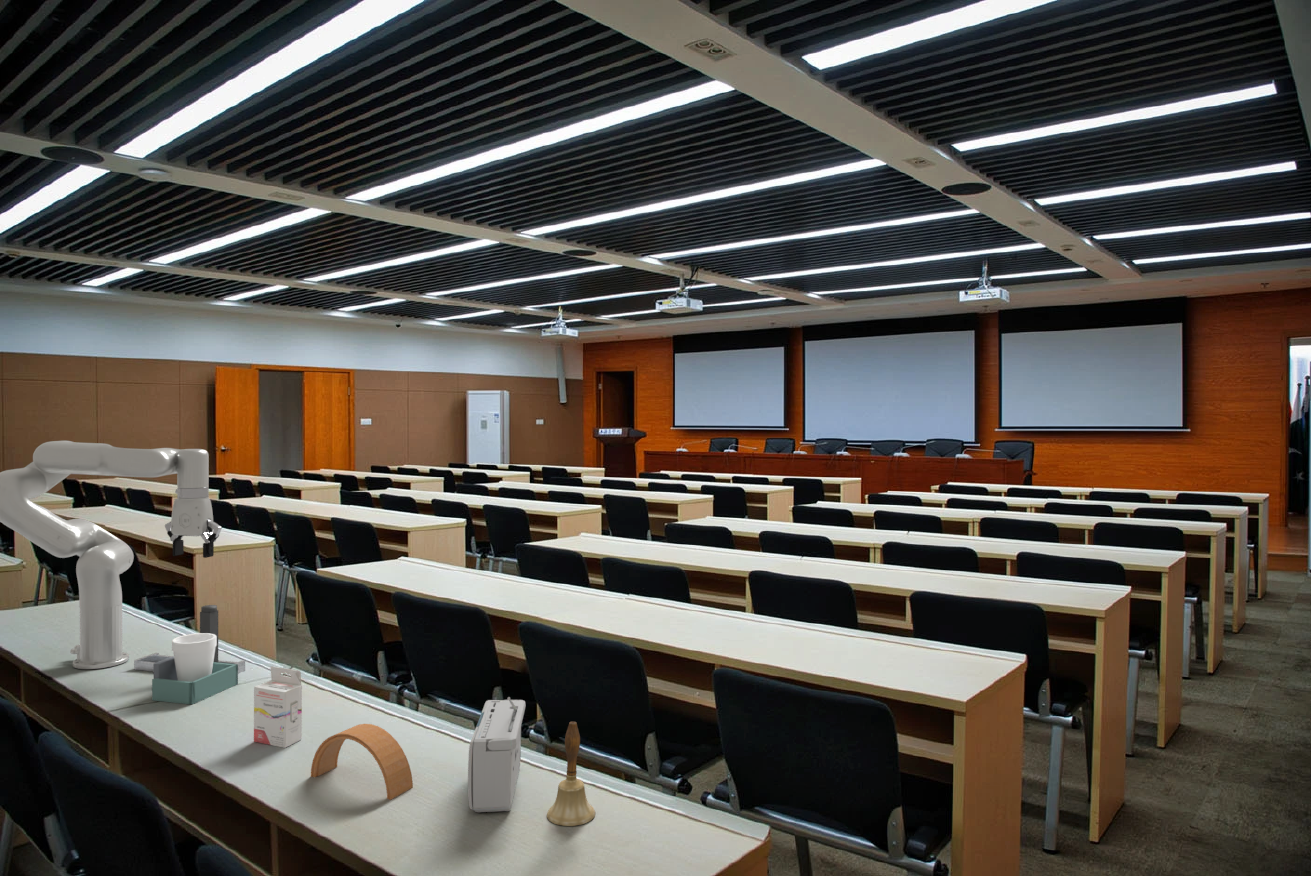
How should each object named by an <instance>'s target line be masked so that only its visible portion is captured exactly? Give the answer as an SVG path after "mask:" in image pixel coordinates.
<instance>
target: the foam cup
mask: <svg viewBox="0 0 1311 876" xmlns="http://www.w3.org/2000/svg"><path fill="white" fill-rule="evenodd" d="M216 646H217V636H216V635H215V634H210V633H200V632H197V633H188V634H184V635H179V636H177V637H174V638H173V639H171V651H172V654H173V656H174V660H175V667H176V673H177V680H178V681H188V682H193V681H195V680H198V679H200V678H202V677H205V676H207V675H210V674H212V668H213V661H214V654H215V647H216Z"/></svg>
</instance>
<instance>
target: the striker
mask: <svg viewBox="0 0 1311 876" xmlns="http://www.w3.org/2000/svg"><path fill="white" fill-rule="evenodd" d="M200 607H201V609H200V611H199V633H210V634H215V635H216V636H217V646H216V647H215V654H214V661H213V662H217V663H218V660H219V609H218V605H215V604H207V605H202V606H200ZM172 656H173V657H171V658H168V659H165V660H162V661H159V662H157V663H154V671H153V679H154V678H158V679H168V680H177V673H176V667H175V660H174V655H172Z"/></svg>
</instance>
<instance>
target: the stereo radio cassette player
mask: <svg viewBox="0 0 1311 876" xmlns="http://www.w3.org/2000/svg"><path fill="white" fill-rule="evenodd" d="M525 710H526V701H525V700H523V699H511V697H510V696H508V697H507V699H503V700H501V699H500V700H499V699H487V700H486V701H485V703H484V705H483V708H482V710H481V713H480V716H479V719H478V721H477V724H476V726H475V729H474V732H473V734H472V736H471V740H470V743H469V748H468V763H467V765H468V766H467V790H468V791H467V792H468V793H467V794H468V805H469V808H470V810H472V811H474V812H475V813H478V814H479V813H486V812H487V813H491V812H492V813H493V812H495V813H496V812H509V811H511V809H512V806H513V800H514V795H515V791H516V786H517V783H518V782H517V781H518V777H519V772H520V767H521V757H522V756H521V755H522V752H521V751H522V747H521V745H522V741H521V740H522V723H523V719H524V715H525Z"/></svg>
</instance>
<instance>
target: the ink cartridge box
mask: <svg viewBox="0 0 1311 876" xmlns="http://www.w3.org/2000/svg"><path fill="white" fill-rule="evenodd" d="M285 673H286V674H287V675H290V676H285V675H284V676H283V675H282V674H285ZM301 675H302V673H301V671H300V670H298V669H297V670H296V669H290V668H286V667H277V666H271V667H270V678H271V679H270V680H267V681H266V682H265V681H264V682H263V683H261V684H258V685H255V686H254V687H253V689H254V690H253V691H254V692H253V742H254V743H258V744H259V743H260V744H264V745H268V746H273V747H277V748H283V749H285V748H288V747H290V746H291V745H293V744H296V743H298V742H300V741H301V740H302V735H303V733H302V729H303V727H302V726H303V723H302V722H303V720H302V719H303V711H302V709H303V686H302V676H301Z"/></svg>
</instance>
